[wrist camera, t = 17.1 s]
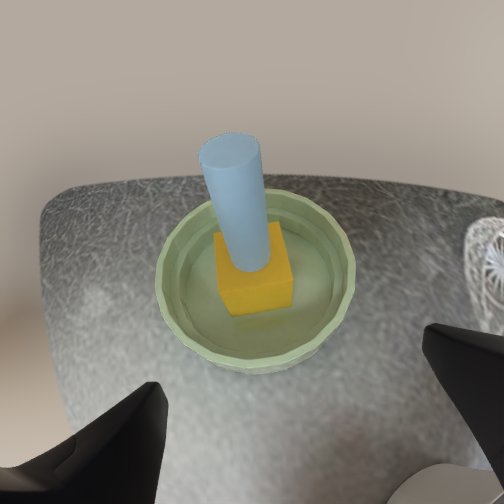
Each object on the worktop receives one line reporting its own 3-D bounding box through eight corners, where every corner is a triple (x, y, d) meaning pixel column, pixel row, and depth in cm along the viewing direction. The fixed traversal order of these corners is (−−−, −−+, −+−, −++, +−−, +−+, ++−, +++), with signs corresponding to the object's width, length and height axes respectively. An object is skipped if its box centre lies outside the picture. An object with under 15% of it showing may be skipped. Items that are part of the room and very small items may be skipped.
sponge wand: (291, 306, 22) (297, 175, 10) (231, 317, 22) (170, 198, 10) (280, 255, 25) (272, 114, 13) (225, 265, 25) (177, 132, 13)
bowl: (295, 407, 18) (298, 408, 14) (145, 318, 23) (120, 299, 19) (365, 254, 24) (378, 225, 21) (231, 201, 30) (223, 171, 26)
